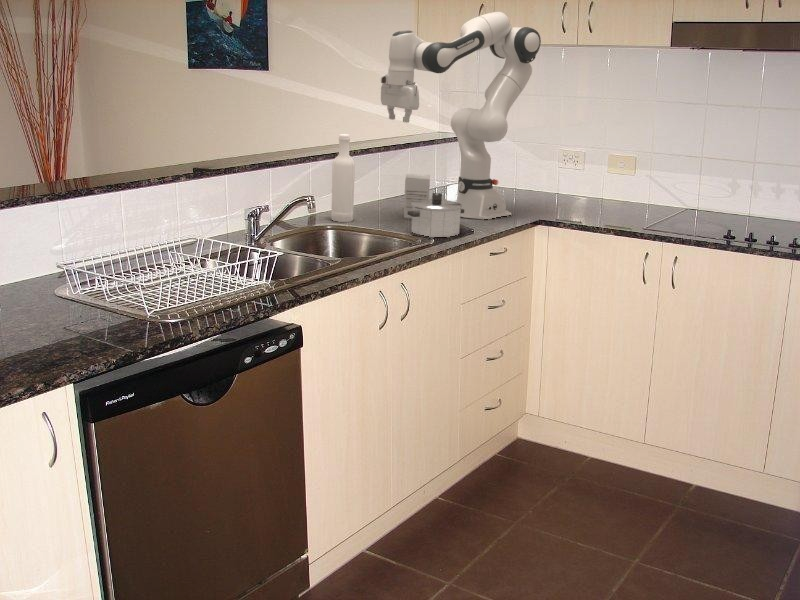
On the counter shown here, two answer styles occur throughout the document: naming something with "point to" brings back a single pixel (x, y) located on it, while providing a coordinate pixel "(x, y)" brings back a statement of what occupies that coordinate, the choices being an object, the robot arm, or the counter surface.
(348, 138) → the bottle
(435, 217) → the pot
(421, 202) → the lid
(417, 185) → the supplement box
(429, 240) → the counter surface
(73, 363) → the counter surface
